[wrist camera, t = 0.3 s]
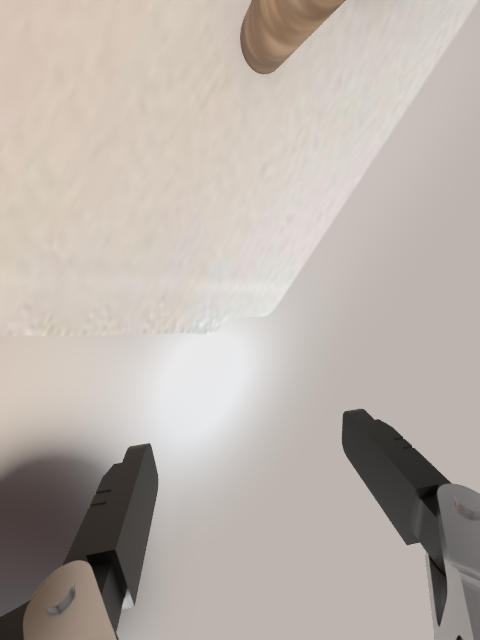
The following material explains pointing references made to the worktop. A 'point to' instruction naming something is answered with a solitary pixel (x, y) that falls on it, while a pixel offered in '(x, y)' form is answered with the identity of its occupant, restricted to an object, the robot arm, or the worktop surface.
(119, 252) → the worktop surface
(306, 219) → the worktop surface
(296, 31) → the cylinder
